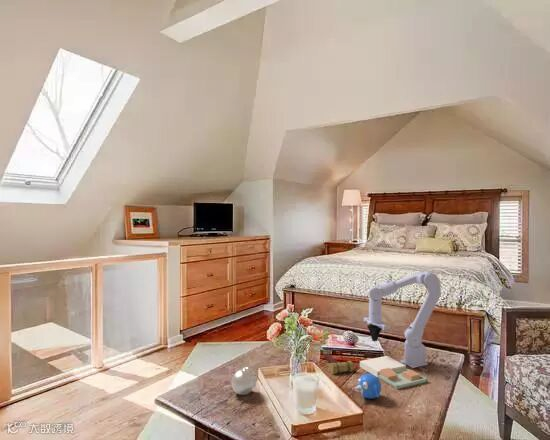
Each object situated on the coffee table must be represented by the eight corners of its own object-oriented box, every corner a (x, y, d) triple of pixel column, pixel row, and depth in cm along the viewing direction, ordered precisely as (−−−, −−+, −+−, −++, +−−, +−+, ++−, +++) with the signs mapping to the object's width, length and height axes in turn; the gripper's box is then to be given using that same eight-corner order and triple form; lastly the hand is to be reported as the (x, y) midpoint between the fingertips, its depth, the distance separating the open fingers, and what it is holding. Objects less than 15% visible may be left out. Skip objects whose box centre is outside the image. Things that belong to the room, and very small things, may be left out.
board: (386, 361, 169) (387, 355, 169) (405, 371, 158) (406, 365, 158) (359, 366, 162) (359, 361, 162) (377, 377, 151) (377, 371, 151)
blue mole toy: (343, 393, 137) (343, 371, 137) (368, 388, 142) (368, 366, 142) (362, 409, 126) (362, 385, 126) (389, 402, 131) (389, 379, 131)
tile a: (420, 374, 149) (420, 379, 149) (410, 369, 154) (410, 374, 154) (411, 376, 147) (411, 381, 147) (402, 371, 151) (402, 376, 151)
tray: (406, 371, 158) (406, 367, 158) (427, 382, 147) (427, 378, 147) (377, 377, 151) (378, 374, 151) (397, 389, 141) (397, 385, 141)
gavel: (314, 350, 173) (332, 348, 176) (314, 360, 173) (333, 358, 176) (333, 365, 153) (354, 362, 156) (333, 376, 153) (354, 373, 156)
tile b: (388, 371, 153) (389, 367, 153) (397, 379, 149) (397, 374, 148) (379, 373, 151) (380, 369, 151) (387, 381, 147) (388, 376, 146)
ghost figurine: (250, 401, 130) (250, 374, 130) (227, 396, 133) (227, 370, 133) (259, 390, 138) (259, 364, 138) (237, 386, 142) (238, 361, 142)
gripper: (358, 309, 174) (358, 337, 174) (378, 316, 161) (378, 346, 161) (370, 308, 177) (369, 335, 177) (390, 315, 164) (390, 344, 164)
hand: (374, 340), depth 169 cm, fingers closed
